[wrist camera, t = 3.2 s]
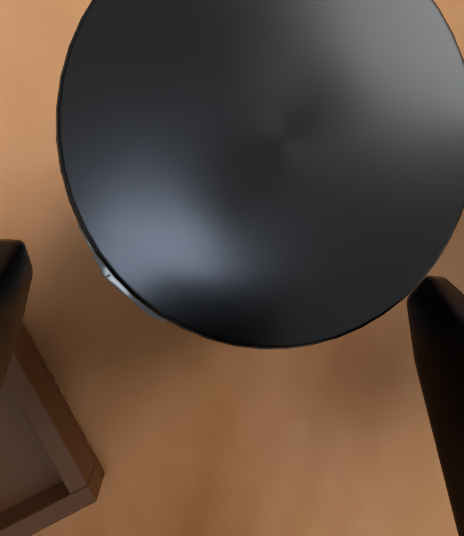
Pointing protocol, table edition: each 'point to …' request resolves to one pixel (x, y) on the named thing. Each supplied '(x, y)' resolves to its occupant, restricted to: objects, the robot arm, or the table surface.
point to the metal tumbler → (264, 158)
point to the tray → (40, 449)
